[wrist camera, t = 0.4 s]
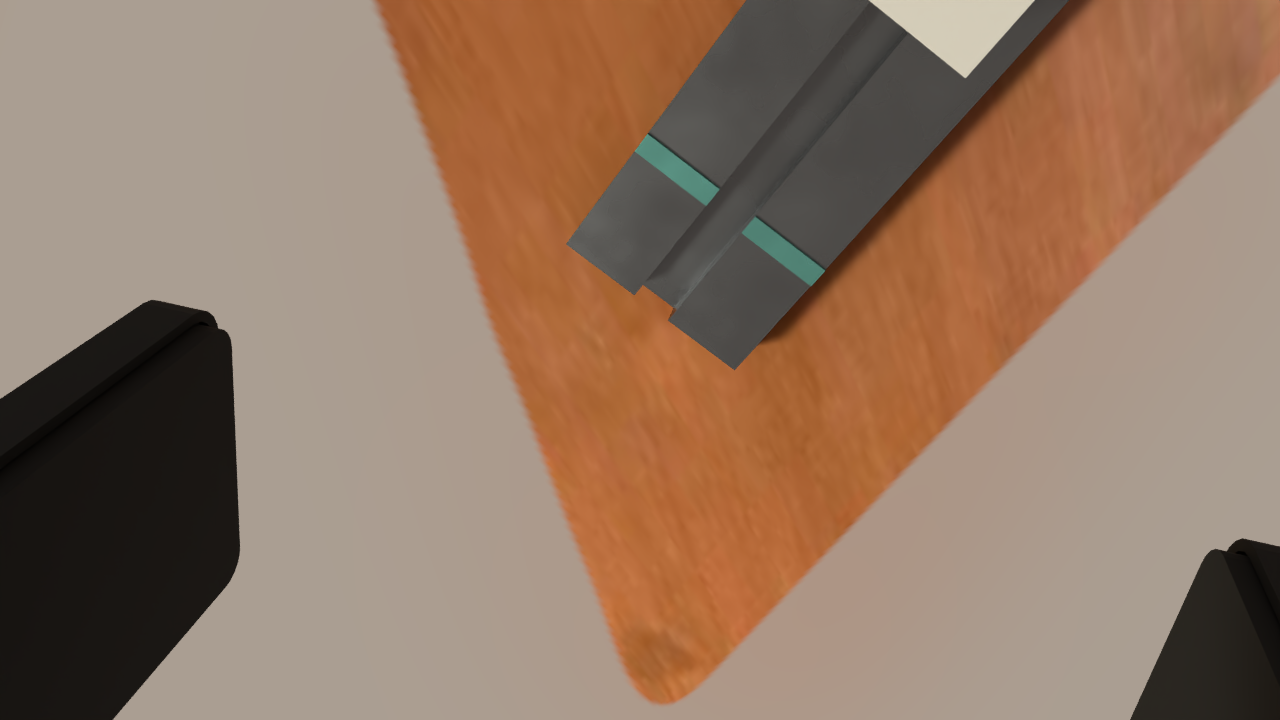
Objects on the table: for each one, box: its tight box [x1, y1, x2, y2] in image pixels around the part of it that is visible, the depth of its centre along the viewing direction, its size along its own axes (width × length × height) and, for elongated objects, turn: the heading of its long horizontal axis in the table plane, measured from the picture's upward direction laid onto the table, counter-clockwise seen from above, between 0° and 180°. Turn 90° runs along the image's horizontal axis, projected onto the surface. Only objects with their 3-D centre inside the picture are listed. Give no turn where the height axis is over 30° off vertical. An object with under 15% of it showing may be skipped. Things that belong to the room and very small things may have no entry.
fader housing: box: [567, 0, 1069, 370], centre depth 38 cm, size 22×8×2 cm, turn 145°
